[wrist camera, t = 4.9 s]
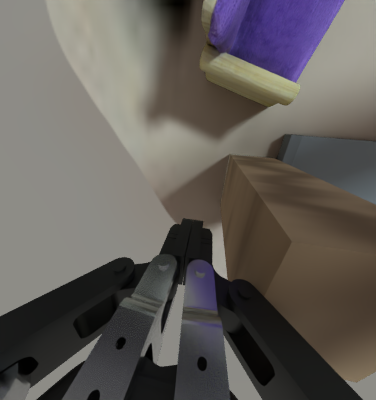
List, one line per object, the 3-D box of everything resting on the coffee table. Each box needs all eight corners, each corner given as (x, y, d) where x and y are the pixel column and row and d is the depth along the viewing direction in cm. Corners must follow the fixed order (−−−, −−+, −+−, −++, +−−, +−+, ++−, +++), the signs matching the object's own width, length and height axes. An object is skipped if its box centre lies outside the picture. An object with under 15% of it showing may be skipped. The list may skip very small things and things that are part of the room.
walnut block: (274, 158, 20) (537, 278, 4) (257, 209, 23) (356, 382, 7) (229, 153, 20) (292, 242, 4) (220, 204, 24) (235, 353, 8)
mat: (443, 146, 17) (468, 148, 15) (367, 240, 23) (379, 249, 21) (285, 134, 18) (291, 134, 17) (254, 224, 25) (257, 231, 23)
